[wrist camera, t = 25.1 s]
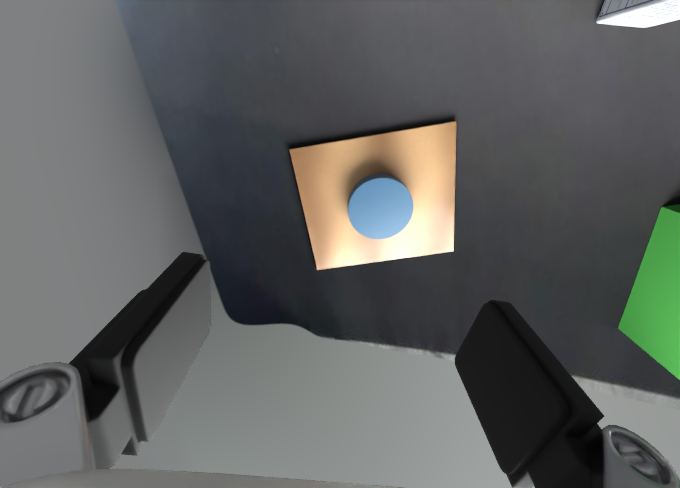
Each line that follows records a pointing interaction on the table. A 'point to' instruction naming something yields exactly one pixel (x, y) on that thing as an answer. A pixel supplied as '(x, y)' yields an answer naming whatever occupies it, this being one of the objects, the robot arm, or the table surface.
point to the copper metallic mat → (379, 158)
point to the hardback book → (658, 294)
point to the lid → (380, 206)
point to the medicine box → (639, 12)
